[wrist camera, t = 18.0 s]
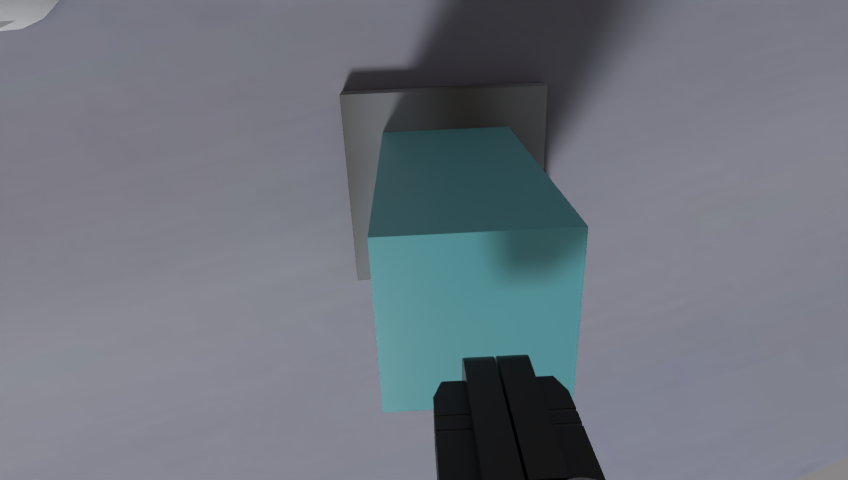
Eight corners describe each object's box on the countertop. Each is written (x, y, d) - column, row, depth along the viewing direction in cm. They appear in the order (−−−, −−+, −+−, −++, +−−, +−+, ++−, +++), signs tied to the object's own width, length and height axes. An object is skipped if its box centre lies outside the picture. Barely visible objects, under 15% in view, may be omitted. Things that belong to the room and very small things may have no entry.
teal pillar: (390, 247, 27) (383, 412, 16) (382, 132, 25) (367, 237, 14) (506, 241, 27) (573, 401, 16) (508, 126, 25) (587, 226, 14)
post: (359, 270, 28) (344, 366, 21) (342, 91, 25) (316, 132, 17) (534, 261, 29) (579, 354, 21) (542, 82, 25) (600, 119, 18)
